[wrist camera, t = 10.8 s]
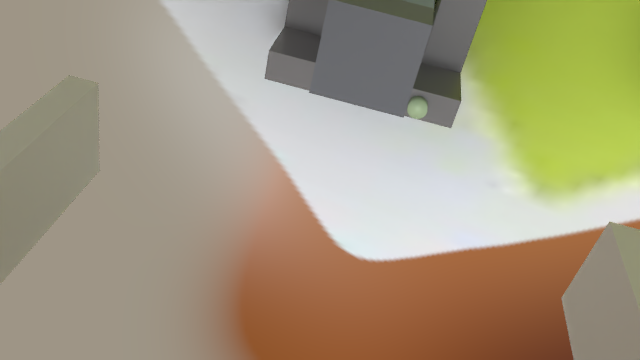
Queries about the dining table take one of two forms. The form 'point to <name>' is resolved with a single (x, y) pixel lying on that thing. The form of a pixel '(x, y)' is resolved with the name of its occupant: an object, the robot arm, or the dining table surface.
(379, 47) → the plug
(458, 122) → the dining table surface
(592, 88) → the dining table surface
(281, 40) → the port
